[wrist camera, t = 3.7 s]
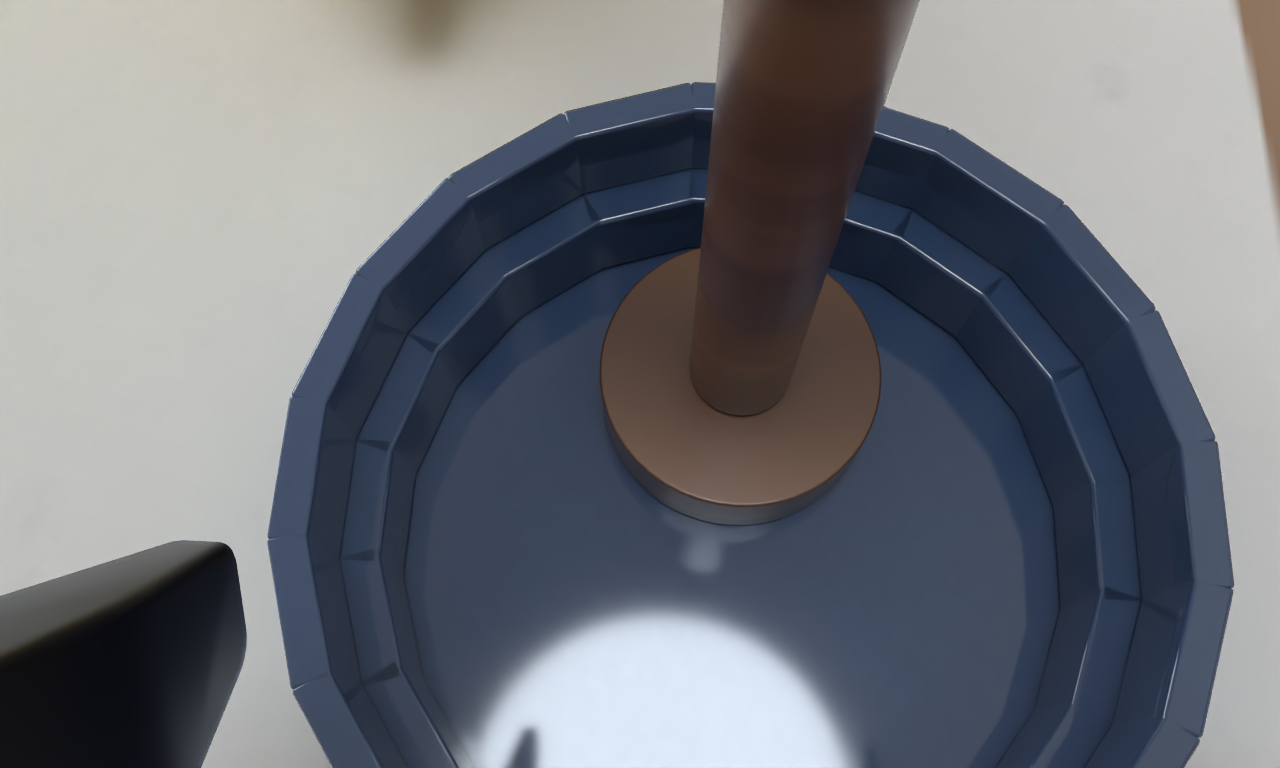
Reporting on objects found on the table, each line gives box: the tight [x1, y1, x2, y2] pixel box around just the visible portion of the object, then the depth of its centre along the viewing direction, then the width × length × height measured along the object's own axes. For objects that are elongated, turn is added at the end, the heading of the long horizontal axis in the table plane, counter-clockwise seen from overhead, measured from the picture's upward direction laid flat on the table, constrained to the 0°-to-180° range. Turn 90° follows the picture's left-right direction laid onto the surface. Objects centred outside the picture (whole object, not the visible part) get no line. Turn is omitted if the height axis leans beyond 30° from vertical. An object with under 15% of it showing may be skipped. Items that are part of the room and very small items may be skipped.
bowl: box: [267, 82, 1234, 768], centre depth 20 cm, size 14×14×4 cm
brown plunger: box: [600, 0, 920, 525], centre depth 16 cm, size 5×5×14 cm
